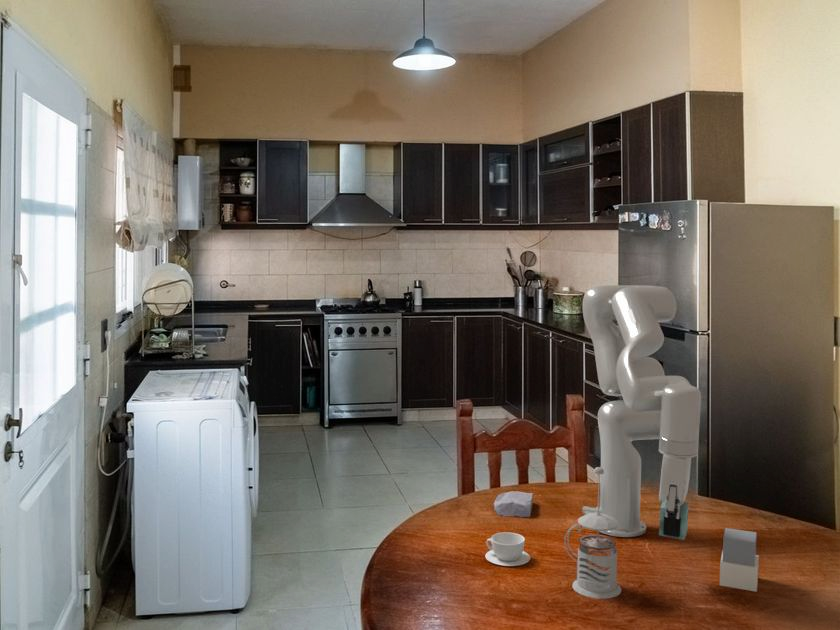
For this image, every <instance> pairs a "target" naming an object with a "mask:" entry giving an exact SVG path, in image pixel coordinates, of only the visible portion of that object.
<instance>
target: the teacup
mask: <svg viewBox="0 0 840 630" xmlns="http://www.w3.org/2000/svg"><path fill="white" fill-rule="evenodd" d="M489 542H490V543H491V545H490V543H489ZM525 542H526V539H525V537H524V536H523V535H521V534H519V533H515V532H508V531H507V532H498V533H495V534H493V535H491V537H490V538H487V539H486V541H485V544H486V547H487V548H488V549H489V551H487V552H486V553H485V555H484V556H485V559H486V560H487V562H490V563H492V564H495V565H498V566H504V567H516V566H522V565H524V564H527V563H529V562H530V560H531V556H530V554H529V553H528V552H526V551H524V547H525Z"/></svg>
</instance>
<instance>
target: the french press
mask: <svg viewBox="0 0 840 630" xmlns="http://www.w3.org/2000/svg"><path fill="white" fill-rule="evenodd" d="M593 473H594V474H596V475H598V478H597V479H598V480H597V481H598V482H597V483H598V484H597V485H598V487H597V489H598V490H597V507H598V513H589V514H586V515H585V514H583V515H582V516H580V517H579V518H577V523H576V524H574V525H572V526H571V527H570V528H568V530H567V531H566V533H565V535H564V547H565V550H566V553H567V554H568V556H569V557H570V558H571V559H573V561H575V562H576V579H575V580H574V581H573V583H572V585H571V586H572V589H573V590H574V592H576V593H578V594H579V595H582V596H585V597H586V598H592V599H598V600H599V599H611V598H616V597H618V596H619V595H620V594H622V593H621V592H622V588H621V586H620V585H619V583H617V578H618V577H617V575H618V574H617V573H618V572H617V571H618V570H617V569H618V563H617V562H618V548H616V544H617V542H616V541H615V540H614V539H613V538H611V537H609V536H605V535H599V531H610V530H614V529H616V528H617V527H618V525H619V523H618V522H617V520H615V519H614V518H613V517H611V516H608V515H606V514H602V513H599V506H600V479H601V474H604V470H603V469H602V468H601V466H597V467H595V468H594V471H593ZM582 527H583V528H584V529H588V530H591V531H597V534H588V535H584V536H582V537H580V538H579V543H580V545H578V546H577V554H576V553H575V552H574V551H573V550H572V548H571V545H570V533H571V531H572V529H574V528H576V529H577V533H580V532H581V531H582ZM566 542H567V543H566ZM567 545H568V547H567ZM568 548H569V550H570V552H571V553H572V554H573V555H574V556H575V557H576V558H577V559H575V558H574V557H573V556H572V555H571V554H570V553H569V550H568ZM607 552H608V553H609V554H610V555H609V554H608V553H607ZM598 553H599V554H600V555H592V554H598ZM601 555H603V556H601ZM589 562H590V563H589ZM605 569H606V570H605Z"/></svg>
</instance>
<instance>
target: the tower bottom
mask: <svg viewBox="0 0 840 630" xmlns="http://www.w3.org/2000/svg"><path fill="white" fill-rule="evenodd" d="M759 558H760V556H759V555H757V554H756V557H755V567H754V566H748V565H742V564H736V563H729V562H723V550H722V551H721V558H720V562H719V563H720V564H719V586H721V587H727V588H733V589H737V590H738V589H739V590H743V591H745V590H746V591H751V592H758V582H759V581H758V579H759Z"/></svg>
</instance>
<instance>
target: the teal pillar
mask: <svg viewBox="0 0 840 630" xmlns="http://www.w3.org/2000/svg"><path fill="white" fill-rule="evenodd" d="M675 502H676V503H678V502H679V501H675ZM689 507H690V503H689V502H686V501H684V504H683V505H681V507H680V518H681V526H680V536H679V537H673V536H668V535H664V534H663V528H664V515H665V509H666V499H665V501H664V502H661V506H660V510H659V512H660V513H659V525H658V526H659V528H658V530H659V531H658V536H659V537H660V536H661V537H666V538H673V539H678V540H683V541H685V540H686V536H687V532H688V524H689V523H688V521H689V510H690V509H689ZM675 509H677V506H675Z"/></svg>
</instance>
